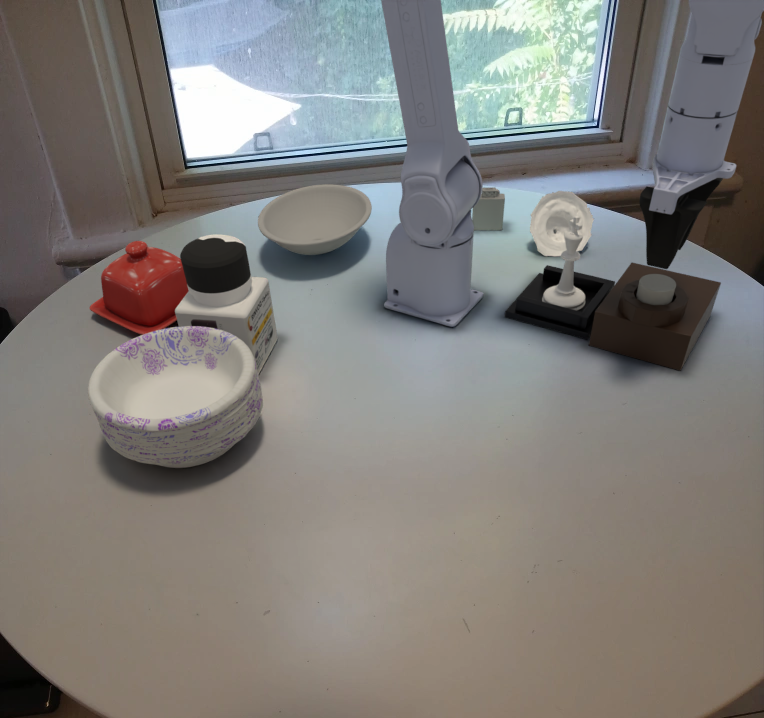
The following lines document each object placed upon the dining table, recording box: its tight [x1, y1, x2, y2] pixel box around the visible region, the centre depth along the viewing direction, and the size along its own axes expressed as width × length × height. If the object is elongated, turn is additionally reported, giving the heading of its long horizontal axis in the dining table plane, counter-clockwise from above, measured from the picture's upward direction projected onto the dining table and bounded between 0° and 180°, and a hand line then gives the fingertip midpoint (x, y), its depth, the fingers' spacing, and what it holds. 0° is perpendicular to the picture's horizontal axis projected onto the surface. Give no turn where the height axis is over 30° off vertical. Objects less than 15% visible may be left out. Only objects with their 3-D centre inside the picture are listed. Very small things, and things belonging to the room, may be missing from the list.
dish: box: [257, 183, 373, 256], centre depth 96 cm, size 18×14×5 cm
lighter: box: [471, 187, 506, 231], centre depth 98 cm, size 7×2×8 cm, turn 86°
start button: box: [636, 274, 676, 305], centre depth 75 cm, size 4×4×2 cm
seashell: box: [529, 190, 595, 257], centre depth 95 cm, size 8×5×8 cm
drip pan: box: [504, 264, 616, 340], centre depth 85 cm, size 10×10×2 cm
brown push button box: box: [588, 262, 722, 371], centre depth 79 cm, size 10×12×6 cm
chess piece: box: [542, 216, 585, 310], centre depth 81 cm, size 5×5×10 cm
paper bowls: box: [87, 326, 264, 469], centre depth 69 cm, size 15×15×8 cm
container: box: [175, 233, 279, 375], centre depth 77 cm, size 8×8×13 cm
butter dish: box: [89, 240, 189, 336], centre depth 86 cm, size 12×12×8 cm
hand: (664, 256), depth 73 cm, fingers open, 4 cm apart
